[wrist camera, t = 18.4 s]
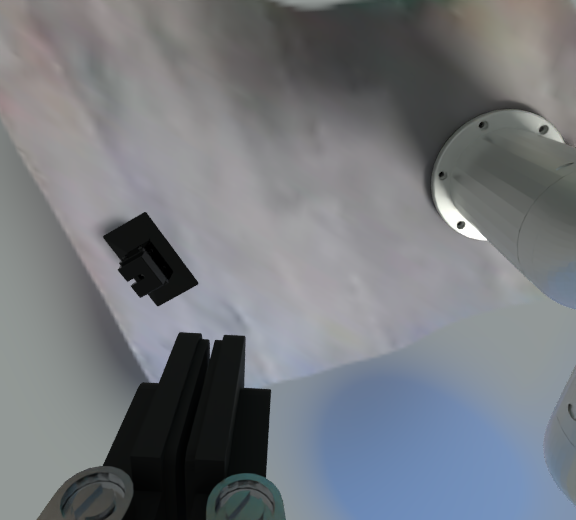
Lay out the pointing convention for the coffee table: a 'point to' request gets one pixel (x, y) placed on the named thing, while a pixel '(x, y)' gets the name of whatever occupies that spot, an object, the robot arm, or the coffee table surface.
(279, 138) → the coffee table surface
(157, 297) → the black block on base
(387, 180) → the coffee table surface
